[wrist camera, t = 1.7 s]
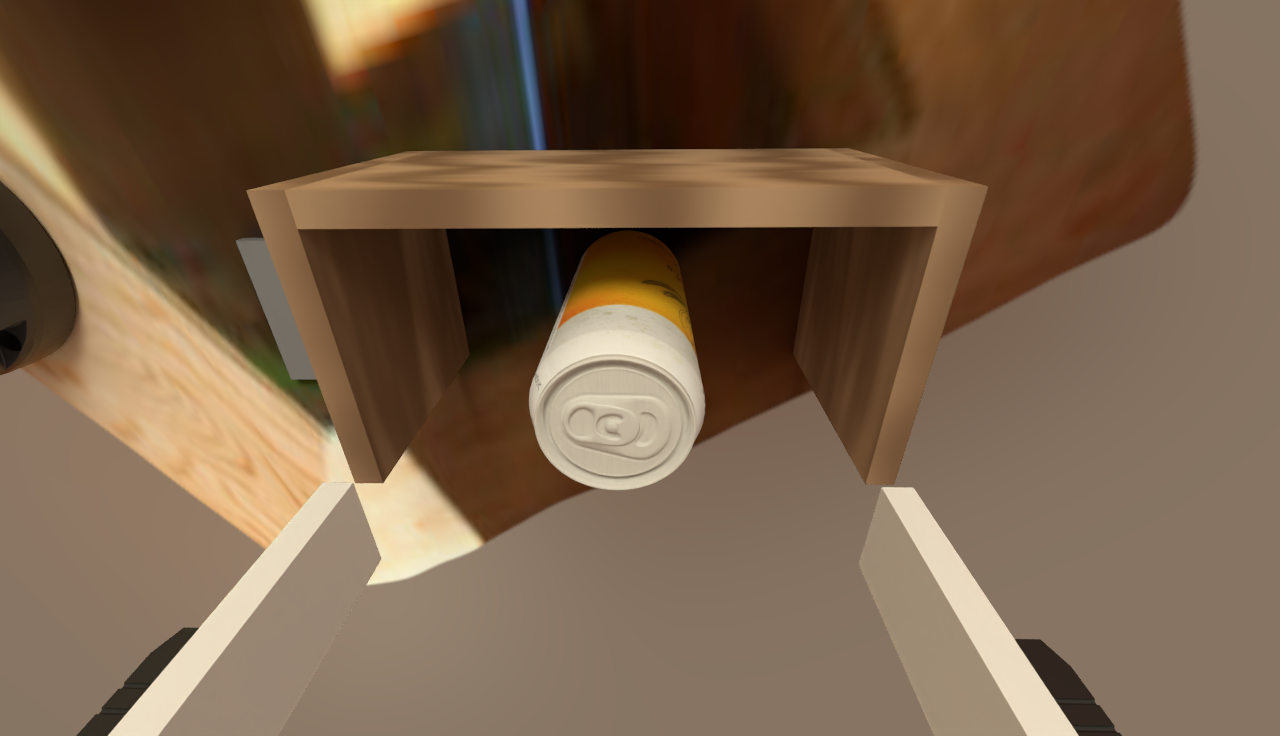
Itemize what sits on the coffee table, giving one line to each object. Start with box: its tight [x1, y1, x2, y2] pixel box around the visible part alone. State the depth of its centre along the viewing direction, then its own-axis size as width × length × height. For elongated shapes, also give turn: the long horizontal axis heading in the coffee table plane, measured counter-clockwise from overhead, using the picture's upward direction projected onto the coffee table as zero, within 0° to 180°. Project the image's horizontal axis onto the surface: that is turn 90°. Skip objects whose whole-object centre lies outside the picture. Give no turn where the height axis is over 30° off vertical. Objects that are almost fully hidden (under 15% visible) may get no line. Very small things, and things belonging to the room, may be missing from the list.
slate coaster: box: [236, 238, 316, 379], centre depth 30 cm, size 9×9×1 cm
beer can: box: [529, 230, 705, 490], centre depth 23 cm, size 6×6×15 cm
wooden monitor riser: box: [247, 148, 988, 485], centre depth 24 cm, size 23×12×12 cm, turn 90°
